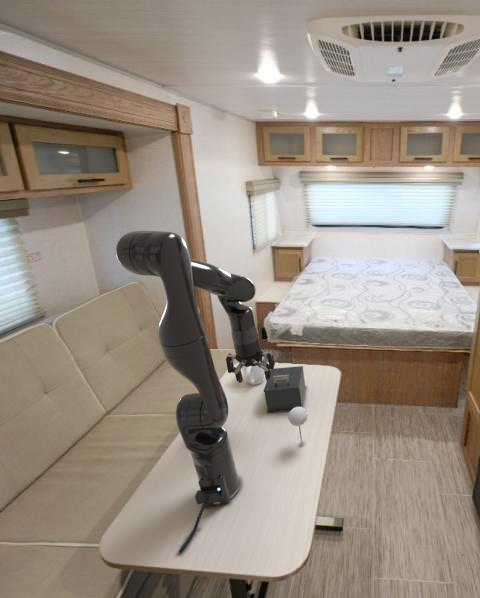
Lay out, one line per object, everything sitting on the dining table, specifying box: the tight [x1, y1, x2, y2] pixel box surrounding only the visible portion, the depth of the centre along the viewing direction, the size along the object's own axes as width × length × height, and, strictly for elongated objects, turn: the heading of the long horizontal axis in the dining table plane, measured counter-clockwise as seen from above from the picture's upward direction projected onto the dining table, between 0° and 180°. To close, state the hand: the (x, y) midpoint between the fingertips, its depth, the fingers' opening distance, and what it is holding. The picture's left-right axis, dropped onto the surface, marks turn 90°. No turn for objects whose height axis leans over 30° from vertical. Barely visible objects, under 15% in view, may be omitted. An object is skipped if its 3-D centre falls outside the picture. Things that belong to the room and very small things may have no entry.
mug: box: [241, 356, 265, 386], centre depth 144 cm, size 12×9×12 cm
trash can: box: [263, 369, 306, 413], centre depth 134 cm, size 14×13×10 cm
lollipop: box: [287, 407, 309, 446], centre depth 112 cm, size 6×6×15 cm
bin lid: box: [263, 365, 304, 393], centre depth 131 cm, size 14×13×5 cm
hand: (254, 380), depth 114 cm, fingers open, 8 cm apart
